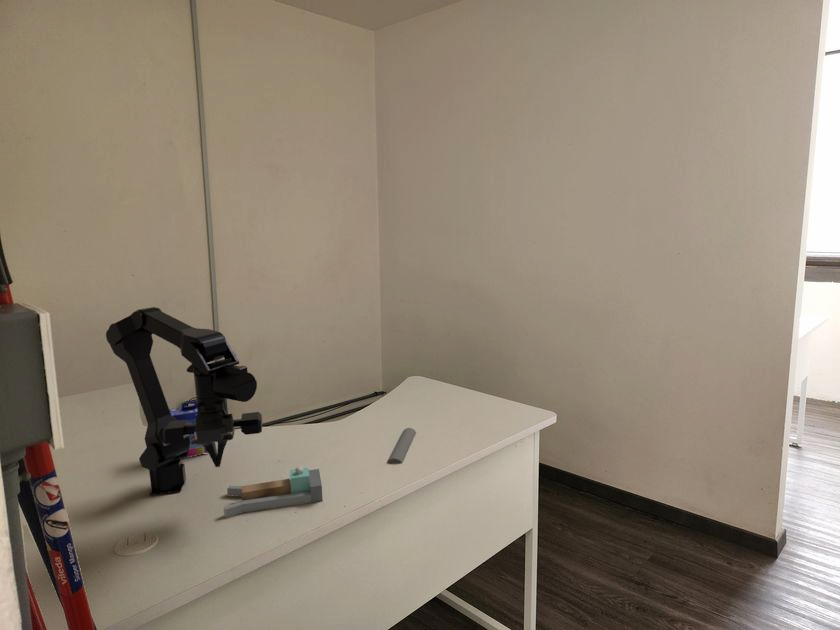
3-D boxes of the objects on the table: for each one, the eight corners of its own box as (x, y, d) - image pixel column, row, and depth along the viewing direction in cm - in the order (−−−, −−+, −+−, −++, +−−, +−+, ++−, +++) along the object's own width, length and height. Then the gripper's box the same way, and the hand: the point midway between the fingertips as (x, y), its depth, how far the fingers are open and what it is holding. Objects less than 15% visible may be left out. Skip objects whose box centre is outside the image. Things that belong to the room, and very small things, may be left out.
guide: (223, 518, 110) (222, 502, 109) (228, 493, 119) (226, 478, 119) (323, 503, 114) (322, 488, 114) (319, 480, 124) (318, 466, 124)
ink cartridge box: (173, 461, 136) (167, 406, 133) (172, 453, 141) (166, 400, 138) (215, 453, 140) (210, 399, 138) (212, 445, 145) (207, 393, 143)
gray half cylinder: (417, 434, 151) (417, 428, 151) (403, 465, 132) (402, 458, 132) (402, 433, 152) (402, 427, 152) (386, 464, 133) (385, 457, 133)
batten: (243, 508, 114) (241, 492, 113) (243, 501, 117) (241, 486, 116) (291, 499, 117) (290, 484, 116) (290, 493, 120) (289, 478, 119)
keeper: (291, 499, 116) (289, 474, 115) (291, 490, 120) (289, 465, 119) (310, 496, 117) (309, 471, 116) (309, 487, 121) (308, 463, 120)
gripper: (152, 412, 100) (161, 491, 103) (257, 402, 104) (263, 477, 107) (164, 394, 110) (172, 465, 113) (259, 385, 115) (264, 454, 118)
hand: (218, 466), depth 113 cm, fingers closed
